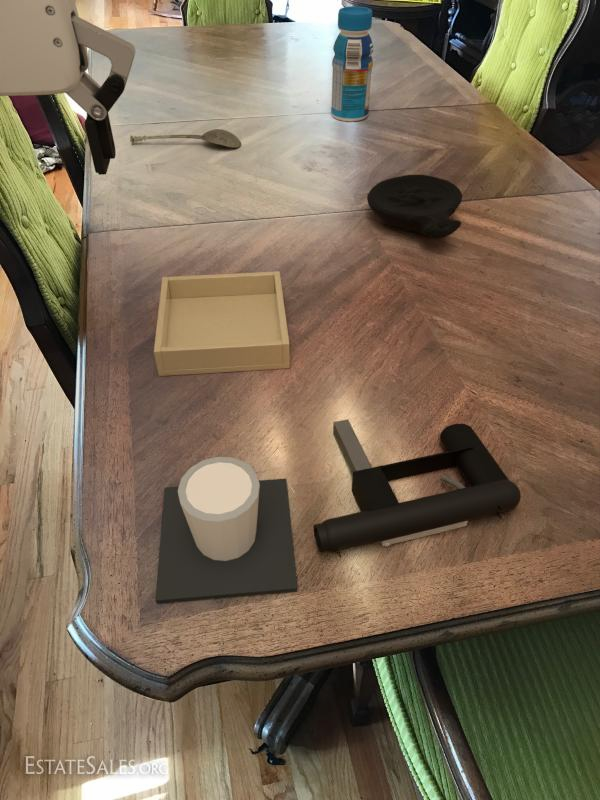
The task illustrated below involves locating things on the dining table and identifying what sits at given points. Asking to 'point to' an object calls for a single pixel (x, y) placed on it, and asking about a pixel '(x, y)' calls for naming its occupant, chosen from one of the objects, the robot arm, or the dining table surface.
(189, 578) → the mat
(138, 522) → the dining table surface
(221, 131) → the soupspoon
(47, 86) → the robot arm
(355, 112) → the beverage bottle
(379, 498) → the door handle
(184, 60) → the dining table surface
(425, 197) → the black cap
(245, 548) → the shot glass
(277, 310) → the caddy
